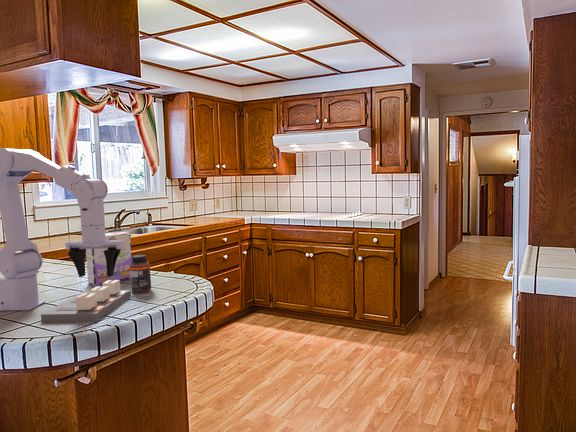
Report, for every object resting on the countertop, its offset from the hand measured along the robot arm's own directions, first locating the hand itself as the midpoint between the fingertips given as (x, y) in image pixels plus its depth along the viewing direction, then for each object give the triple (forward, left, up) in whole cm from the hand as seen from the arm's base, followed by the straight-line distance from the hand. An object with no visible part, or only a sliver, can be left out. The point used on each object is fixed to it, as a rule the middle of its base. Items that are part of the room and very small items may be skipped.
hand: (96, 276), depth 121 cm
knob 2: (-1, +11, -7) cm, 14 cm away
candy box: (-12, +36, -10) cm, 40 cm away
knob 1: (-1, +4, -7) cm, 8 cm away
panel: (-4, +4, -10) cm, 11 cm away
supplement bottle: (+4, +21, -10) cm, 24 cm away
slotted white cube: (-1, -4, -7) cm, 8 cm away
